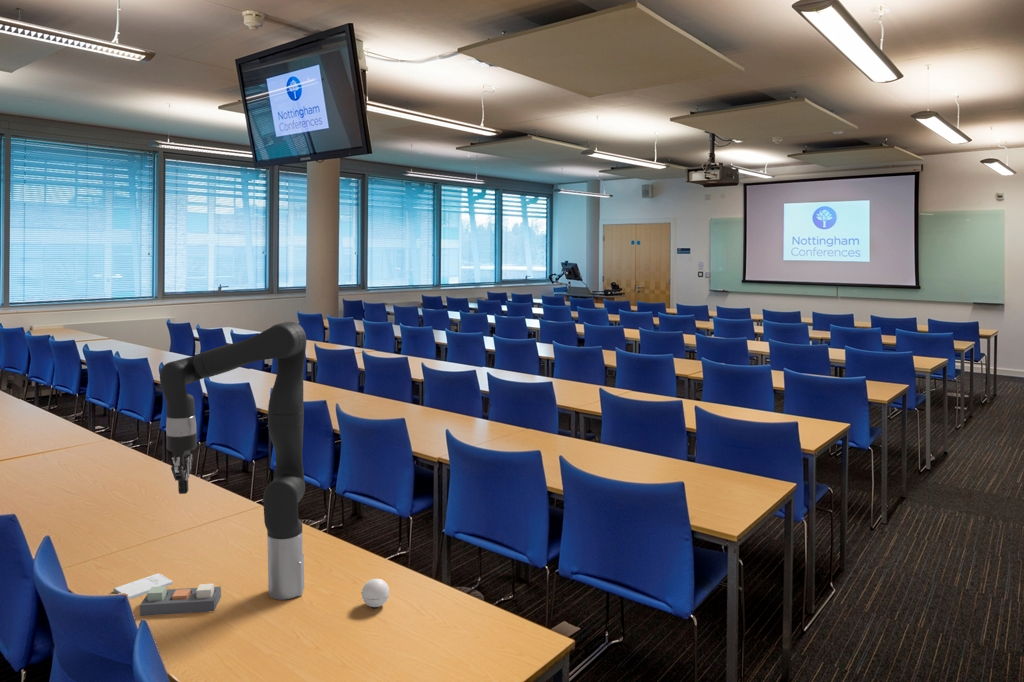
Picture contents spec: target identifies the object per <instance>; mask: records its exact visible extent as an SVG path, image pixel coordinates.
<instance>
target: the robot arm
mask: <svg viewBox="0 0 1024 682" xmlns="http://www.w3.org/2000/svg"><path fill="white" fill-rule="evenodd" d="M306 350H307V334H306V331H305V330H304V328H303V327H302V326H301V325H300V324H299V323H297V322H294V321H286V322H281V323H277V324H274V325H272V326H271V327H269V328H267V329H265V330H264V331H262V332H260V333H257V334H256V335H254V336H250V337H249V338H247V339H244V340H241V341H238V342H234V343H230V344H226V345H222V346H218V347H215V348H212V349H208V350H206V351H202V352H200V353H198V354H196V355H193V356H188V357H185V358H181V359H177V360H173V361H170V362H167V363H165V364H164V365H162V366H161V367H162V368H161V369H160V373H159V382H160V383H159V384H160V387H161V390H162V393H163V396H164V399H165V402H166V421H165V422H166V423H165V428H166V431H165V432H166V435H165V436H166V449H167V451H169V452H172V453H174V454H173V457H172V463H173V465H171V467H170V469H171V473H172V475H173V478H174V480H175V481H176V482H177V483H178V484H177V486H178V494H180V495H185V494H188V492H189V479H190V475H191V474H192V468H193V467H192V466H193V460H194V454H192V453H191V451H192V450H195V449H196V448H197V447H198V435H197V434H198V433H197V420H196V412H195V411H196V407H195V403H196V401H195V398H194V396H193V395H192V394H190V393H188V392H187V388H186V386H187V385H189V384H192V383H194V382H197V381H198V382H199V381H200V380H203V379H205V378H212V377H214V376H218V375H221V374H225V373H228V372H231V371H234V370H235V369H238V368H240V367H243V366H245V365H248V364H251V363H256V362H260V361H265V360H268V361H269V360H274V359H276V365H277V367H276V377H275V380H274V383H273V384H274V385H273V387H272V390H271V393H270V396H269V400H268V405H267V407H268V408H267V425H268V427H267V428H268V434H269V437H270V440H271V444H272V446H273V449H274V454H275V468H274V469H275V471H274V477H273V480H272V481H271V482H270V483H269V484H267V486H266V487H265V489H264V492H263V499H262V500H263V501H262V503H263V517H264V518H263V519H264V520H263V521H264V525H265V528H266V532H267V534H266V535H267V536H266V537H267V539H266V540H267V578H268V579H267V580H268V583H267V585H268V586H267V588H268V589H267V590H268V596H269V597H270V598H271V599H274V600H281V601H283V600H289V599H294V598H296V597H302V596H303V593H304V588H305V555H304V554H303V553H304V552H303V544H304V543H303V522H302V520H301V519H299V502H300V501H301V500H302V499H303V497H304V495H305V491H306V483H305V472H304V464H303V445H304V444H303V443H304V425H305V424H304V421H305V420H304V418H305V417H304V415H305V407H304V370H305V369H304V367H305V360H306Z"/></svg>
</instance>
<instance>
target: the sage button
mask: <svg viewBox="0 0 1024 682" xmlns="http://www.w3.org/2000/svg"><path fill="white" fill-rule="evenodd" d="M166 590H167V586H161V587H151V589H150V590H149V592H148V593H147V594H146V596H147V598H148V601H163V600H164V599H165V597H166V596H167V591H166Z"/></svg>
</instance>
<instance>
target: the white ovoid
mask: <svg viewBox="0 0 1024 682" xmlns="http://www.w3.org/2000/svg"><path fill="white" fill-rule="evenodd" d="M389 597H390V587H389V585H388V584H387V582H386V581H385V580H383V579H381V578H372V579H369V580H368V581H367V582H366V583H365V584H364V585H363V587H362V590H361V598H360V599H359V601H361V600H362V601H363V602H364V604H365V605H367V606H368V607H370V608H379V607H381V606H383V605H384V604H386V603H387V601H388V599H389Z"/></svg>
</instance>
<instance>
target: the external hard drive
mask: <svg viewBox="0 0 1024 682" xmlns="http://www.w3.org/2000/svg"><path fill="white" fill-rule="evenodd" d="M173 584H174V582H173V580H171V579H170V578H169V577H166V576H165V575H163V574H162V573H155V574H152V575H149V576H147V577H143V578H140V579H137V580H134V581H131V582H128V583H126V584H125V583H124V584H122V585H120V586H116V587H114V588H113V592H114V593H115V594H117V593H126V594H128V596H129V599H130V600H132V599H136V598H139V597H142V596H144V595H147V593H148V592H149V590H150V589H151V587H161V586H166V587H169V586H171V585H173ZM130 600H129V601H130Z"/></svg>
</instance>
